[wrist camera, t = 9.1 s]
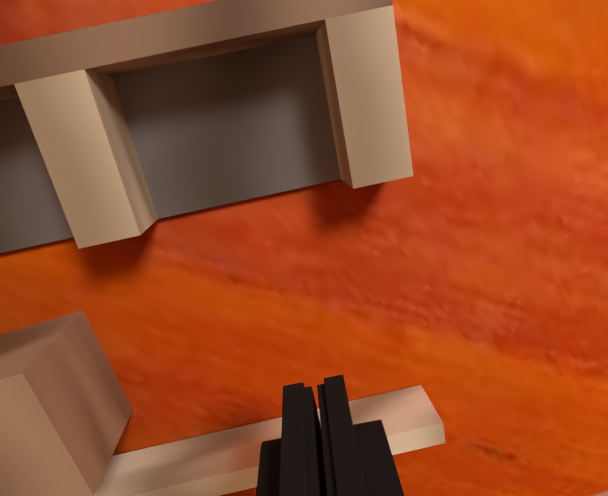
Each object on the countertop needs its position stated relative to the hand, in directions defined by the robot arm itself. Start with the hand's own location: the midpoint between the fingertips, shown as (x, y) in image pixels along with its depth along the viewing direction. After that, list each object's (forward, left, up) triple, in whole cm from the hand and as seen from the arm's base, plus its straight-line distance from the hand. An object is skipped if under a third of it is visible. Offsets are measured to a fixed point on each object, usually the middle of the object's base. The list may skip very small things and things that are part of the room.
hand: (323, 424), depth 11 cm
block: (+12, 0, -7) cm, 14 cm away
